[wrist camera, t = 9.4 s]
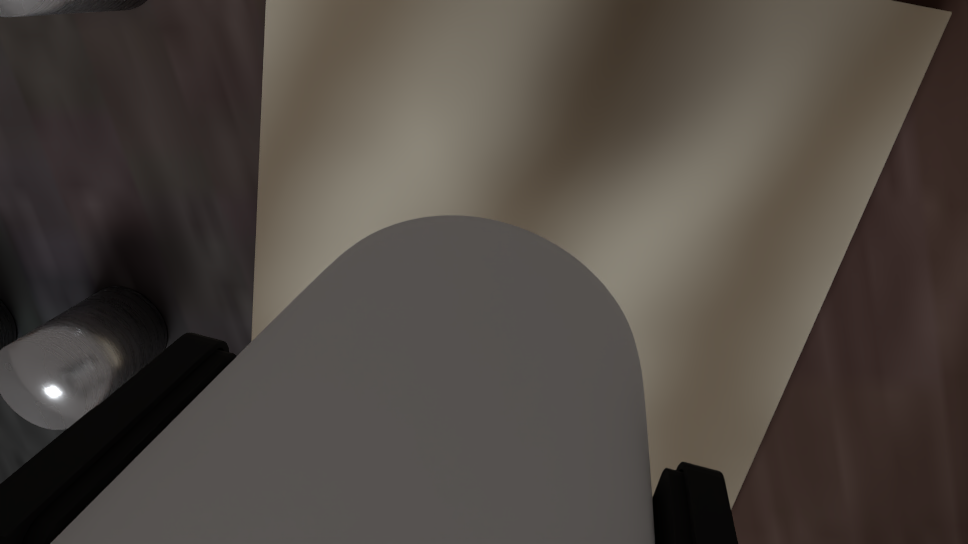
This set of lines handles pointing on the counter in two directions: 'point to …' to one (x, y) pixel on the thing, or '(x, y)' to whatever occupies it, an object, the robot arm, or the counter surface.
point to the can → (410, 410)
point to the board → (603, 164)
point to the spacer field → (76, 318)
